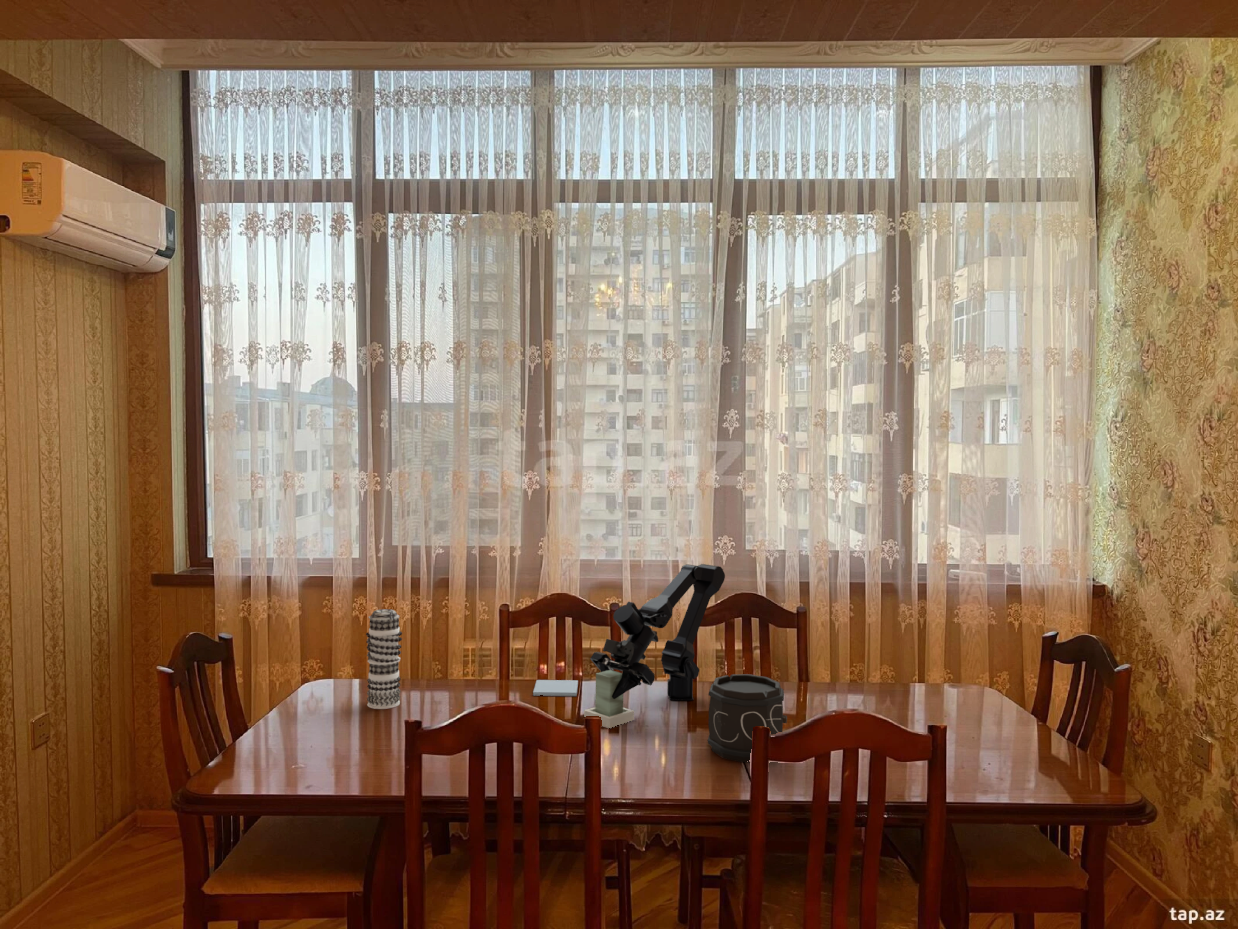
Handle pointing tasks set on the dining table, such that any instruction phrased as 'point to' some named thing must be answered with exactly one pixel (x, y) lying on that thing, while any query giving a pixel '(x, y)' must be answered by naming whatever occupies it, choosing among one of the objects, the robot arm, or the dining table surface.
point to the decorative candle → (383, 659)
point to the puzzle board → (612, 717)
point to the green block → (608, 693)
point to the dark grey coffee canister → (742, 713)
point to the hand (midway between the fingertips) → (605, 695)
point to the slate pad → (556, 688)
